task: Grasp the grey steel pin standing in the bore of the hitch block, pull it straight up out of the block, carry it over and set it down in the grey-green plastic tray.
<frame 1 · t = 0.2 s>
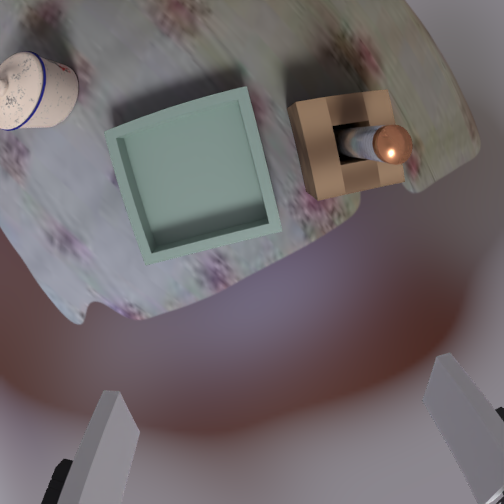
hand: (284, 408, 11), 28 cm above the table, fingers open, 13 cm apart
pin: (360, 142, 28), in the hitch block
tray: (195, 175, 35), on the table
teacup with lid: (45, 96, 31), on the table
hitch block: (337, 141, 35), on the table
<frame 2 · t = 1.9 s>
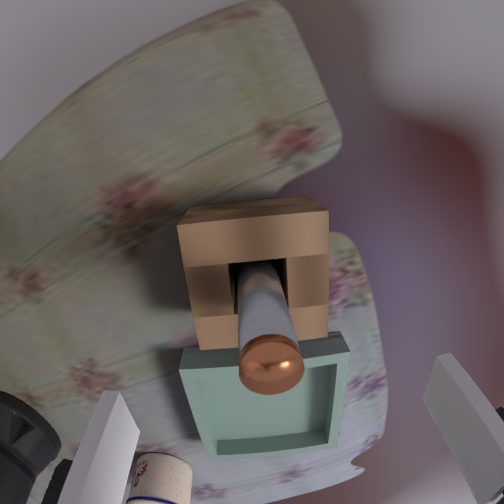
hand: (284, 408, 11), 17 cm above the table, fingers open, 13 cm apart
pin: (260, 297, 21), in the hitch block
tray: (267, 396, 33), on the table
teacup with lid: (164, 469, 39), on the table
hitch block: (254, 257, 28), on the table
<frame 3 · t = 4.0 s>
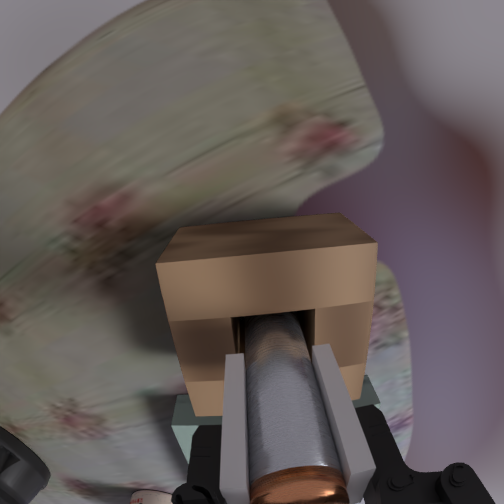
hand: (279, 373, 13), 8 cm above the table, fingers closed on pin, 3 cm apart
pin: (278, 365, 14), in the hitch block, touching gripper
tray: (277, 443, 27), on the table
hitch block: (266, 292, 21), on the table
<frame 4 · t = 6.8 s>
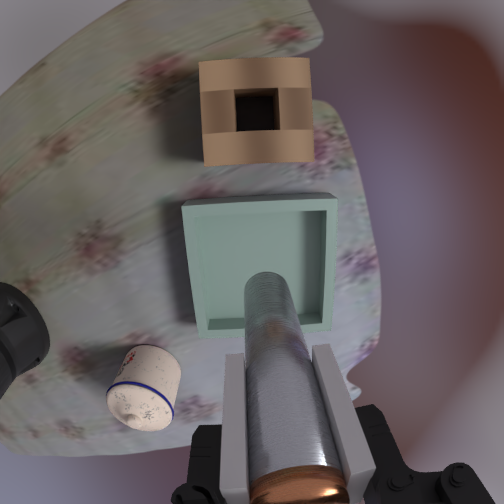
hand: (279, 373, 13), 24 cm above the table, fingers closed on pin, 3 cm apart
pin: (278, 365, 14), point 24 cm above the table, touching gripper
tray: (261, 262, 38), on the table
teacup with lid: (152, 372, 44), on the table
hitch block: (254, 114, 32), on the table
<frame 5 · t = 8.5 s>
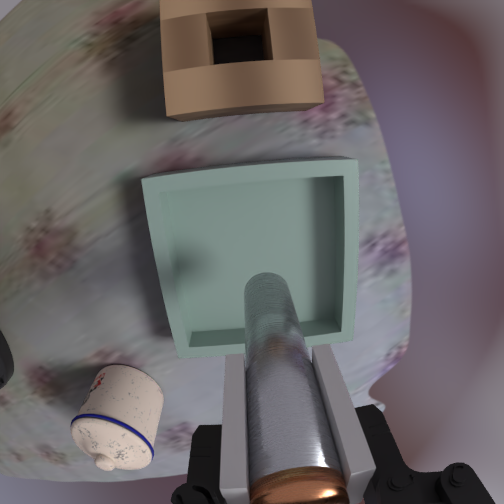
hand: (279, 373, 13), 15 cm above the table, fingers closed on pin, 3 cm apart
pin: (278, 366, 14), point 15 cm above the table, touching gripper
tray: (257, 254, 28), on the table
teacup with lid: (129, 396, 34), on the table
hitch block: (238, 57, 22), on the table
when the fingers open (10 cm above the table, at t = 9.9 s): pin stays where it is, resting on tray.
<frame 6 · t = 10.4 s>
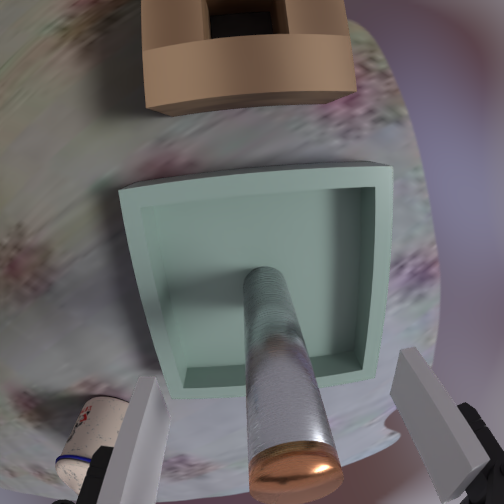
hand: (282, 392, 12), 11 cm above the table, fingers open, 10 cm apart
pin: (275, 353, 15), in the tray, point 8 cm above the table
tray: (264, 280, 23), on the table
teacup with lid: (120, 427, 29), on the table
hitch block: (242, 37, 17), on the table
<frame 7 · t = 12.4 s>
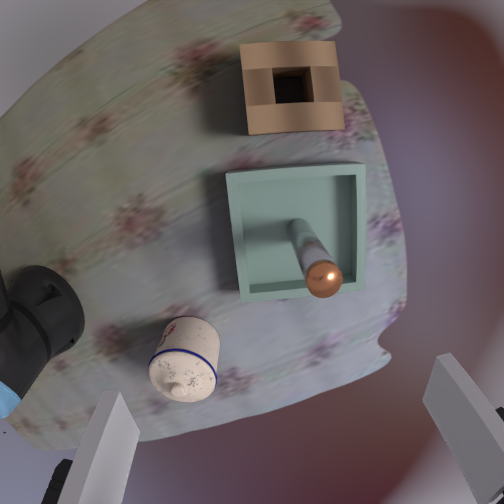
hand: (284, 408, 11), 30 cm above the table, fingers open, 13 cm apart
pin: (309, 250, 32), in the tray, point 8 cm above the table
tray: (297, 227, 40), on the table
teacup with lid: (190, 346, 47), on the table
hitch block: (286, 93, 34), on the table
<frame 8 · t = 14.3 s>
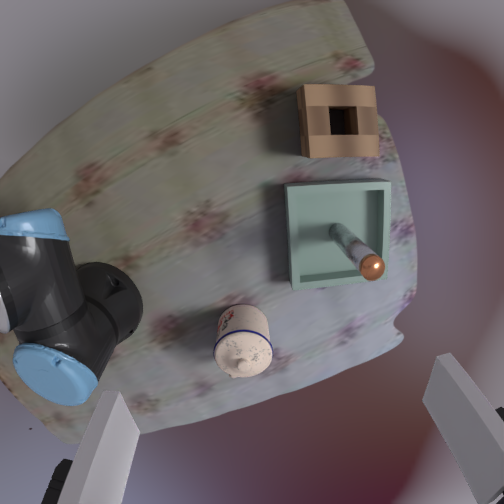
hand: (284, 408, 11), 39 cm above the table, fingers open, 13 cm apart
pin: (353, 247, 41), in the tray, point 8 cm above the table
tray: (336, 230, 49), on the table
teacup with lid: (240, 330, 55), on the table
hitch block: (331, 122, 44), on the table
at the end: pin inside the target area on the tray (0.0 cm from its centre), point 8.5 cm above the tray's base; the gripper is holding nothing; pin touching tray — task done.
